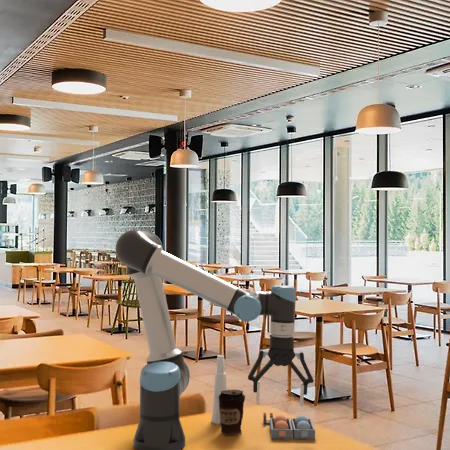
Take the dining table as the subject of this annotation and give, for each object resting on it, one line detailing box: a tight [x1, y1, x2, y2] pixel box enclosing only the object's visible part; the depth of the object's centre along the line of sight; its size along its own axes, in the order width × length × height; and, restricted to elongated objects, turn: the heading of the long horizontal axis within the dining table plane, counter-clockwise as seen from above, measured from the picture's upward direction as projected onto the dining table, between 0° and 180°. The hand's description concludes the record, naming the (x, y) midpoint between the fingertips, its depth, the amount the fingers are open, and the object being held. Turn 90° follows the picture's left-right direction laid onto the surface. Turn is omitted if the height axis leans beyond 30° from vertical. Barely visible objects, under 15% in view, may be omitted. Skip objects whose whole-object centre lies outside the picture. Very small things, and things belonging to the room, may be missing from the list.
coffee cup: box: [219, 389, 246, 436], centre depth 193 cm, size 9×8×13 cm
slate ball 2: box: [296, 421, 311, 430], centre depth 190 cm, size 4×4×4 cm
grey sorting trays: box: [269, 417, 316, 441], centre depth 193 cm, size 13×12×3 cm
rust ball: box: [273, 414, 287, 426], centre depth 196 cm, size 4×4×4 cm
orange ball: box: [274, 420, 289, 429], centre depth 190 cm, size 4×4×4 cm
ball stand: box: [262, 412, 274, 426], centre depth 203 cm, size 3×3×3 cm
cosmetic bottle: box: [210, 354, 228, 425], centre depth 205 cm, size 6×6×22 cm
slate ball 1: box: [295, 414, 309, 427], centre depth 196 cm, size 4×4×4 cm
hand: (279, 404), depth 190 cm, fingers open, 13 cm apart
